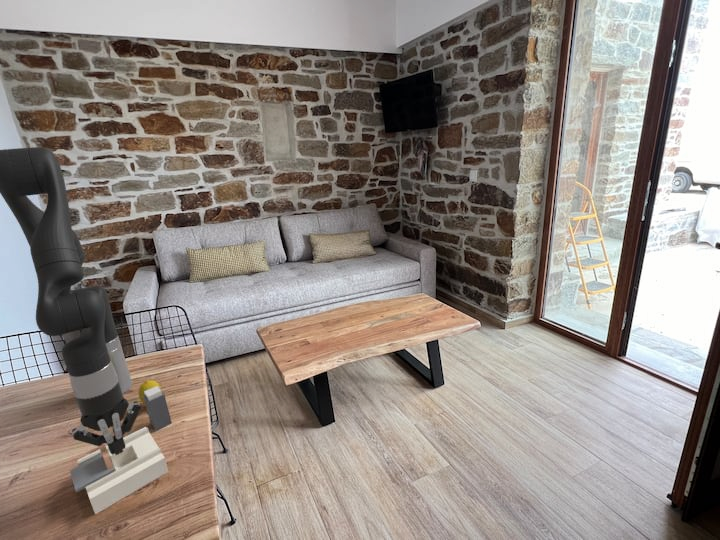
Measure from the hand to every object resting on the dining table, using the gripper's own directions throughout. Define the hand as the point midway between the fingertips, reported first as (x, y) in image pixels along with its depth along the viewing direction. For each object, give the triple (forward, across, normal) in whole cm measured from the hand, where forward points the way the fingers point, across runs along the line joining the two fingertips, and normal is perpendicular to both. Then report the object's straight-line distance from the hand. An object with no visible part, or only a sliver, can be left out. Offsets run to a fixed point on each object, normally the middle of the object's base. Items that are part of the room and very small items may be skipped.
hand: (118, 451), depth 82 cm
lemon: (+6, -12, -21) cm, 25 cm away
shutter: (+2, +5, 0) cm, 5 cm away
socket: (+6, 0, 0) cm, 6 cm away
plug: (+6, -11, -11) cm, 17 cm away
